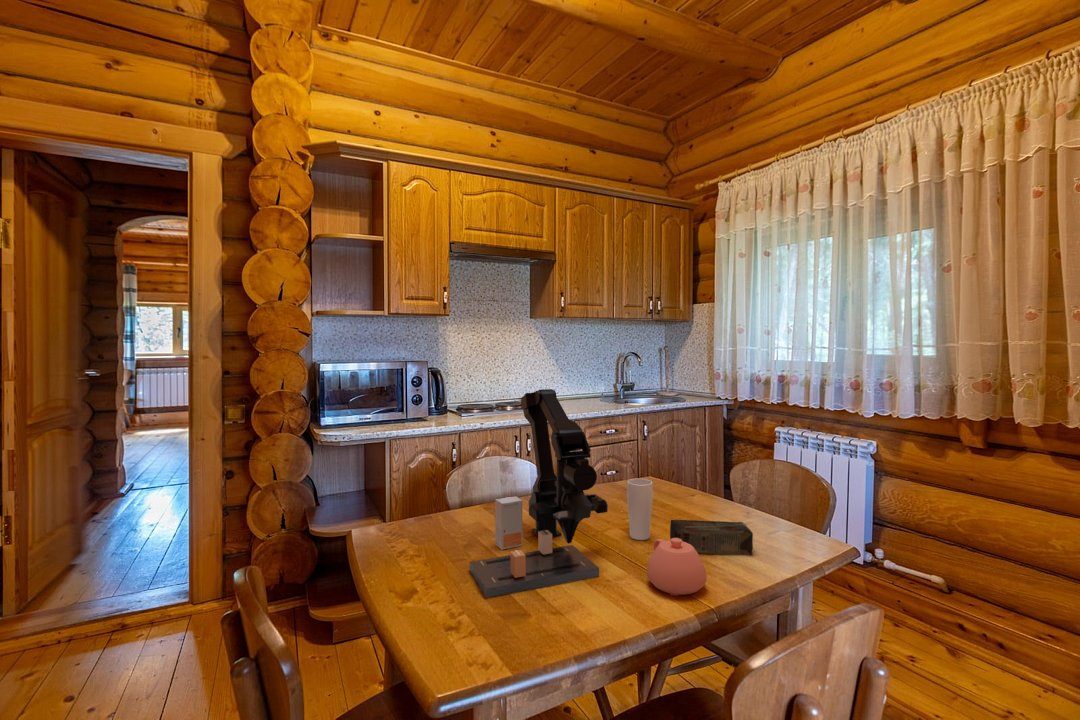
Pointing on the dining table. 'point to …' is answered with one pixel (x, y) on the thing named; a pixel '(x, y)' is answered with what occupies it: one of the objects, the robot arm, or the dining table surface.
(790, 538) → the dining table surface
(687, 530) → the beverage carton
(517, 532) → the skincare box
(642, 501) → the drinking glass
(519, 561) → the orange fader
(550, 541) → the white fader
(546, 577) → the console
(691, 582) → the pink teapot
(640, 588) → the dining table surface
